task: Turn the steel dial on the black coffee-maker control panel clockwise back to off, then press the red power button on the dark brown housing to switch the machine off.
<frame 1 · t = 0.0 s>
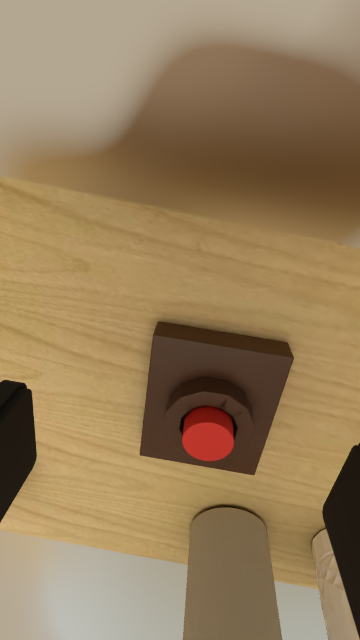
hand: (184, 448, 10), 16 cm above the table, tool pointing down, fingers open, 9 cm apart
travel mug: (228, 527, 36), on the table
power button: (208, 433, 24), point 4 cm above the table, slide at 0.1 cm
button housing: (209, 394, 28), on the table
white cup: (344, 541, 35), on the table
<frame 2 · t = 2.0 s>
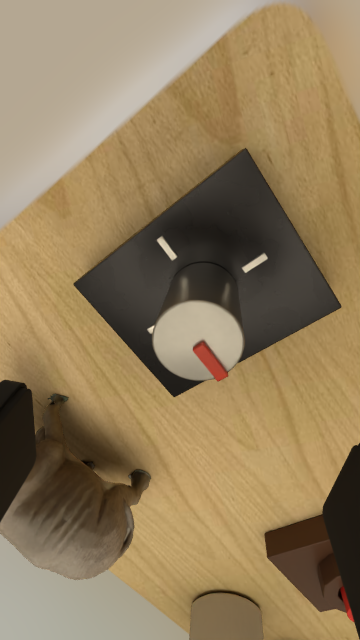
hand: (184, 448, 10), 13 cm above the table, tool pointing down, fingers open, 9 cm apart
travel mug: (225, 606, 39), on the table
dial panel: (205, 281, 22), on the table
rhinoceros figurine: (72, 428, 29), on the table
button housing: (348, 544, 31), on the table
dial: (200, 317, 17), point 5 cm above the table, hinge at 90.0°
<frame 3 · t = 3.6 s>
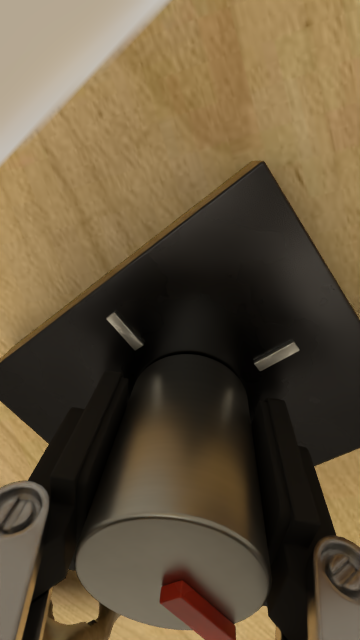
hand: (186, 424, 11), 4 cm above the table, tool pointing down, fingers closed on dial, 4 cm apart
dial panel: (193, 362, 14), on the table
rhinoceros figurine: (16, 539, 21), on the table
dial: (181, 472, 9), point 5 cm above the table, hinge at 89.9°, touching gripper
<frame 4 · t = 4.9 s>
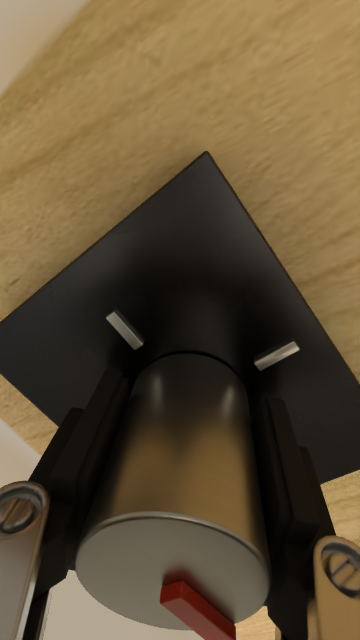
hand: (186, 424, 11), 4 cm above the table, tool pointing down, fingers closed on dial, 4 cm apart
dial panel: (193, 361, 14), on the table
dial: (181, 471, 9), point 5 cm above the table, hinge at -0.4°, touching gripper
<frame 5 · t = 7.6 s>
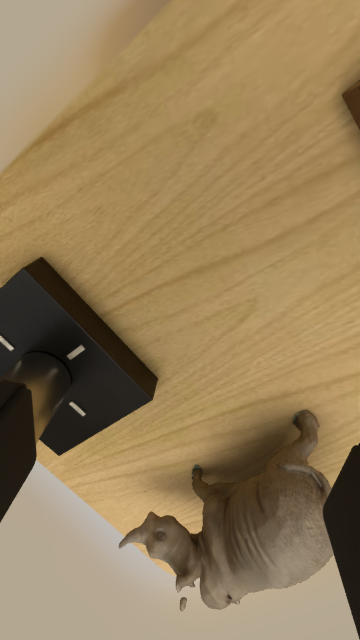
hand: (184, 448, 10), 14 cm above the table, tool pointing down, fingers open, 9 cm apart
dial panel: (58, 356, 25), on the table
rhinoceros figurine: (235, 466, 29), on the table
dial: (21, 403, 21), point 5 cm above the table, hinge at 0.8°
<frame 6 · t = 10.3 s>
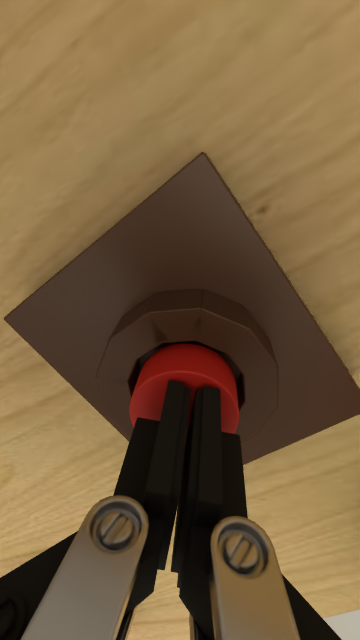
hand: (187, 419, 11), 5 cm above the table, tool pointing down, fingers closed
power button: (185, 399, 12), point 4 cm above the table, slide at 0.1 cm, touching gripper
button housing: (192, 338, 16), on the table
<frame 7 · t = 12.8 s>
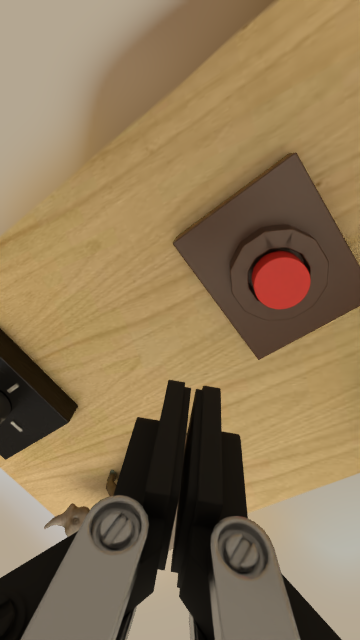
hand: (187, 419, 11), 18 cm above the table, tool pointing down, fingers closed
power button: (279, 280, 23), point 4 cm above the table, slide at 0.1 cm
dial panel: (6, 387, 35), on the table
rhinoceros figurine: (141, 472, 39), on the table
button housing: (270, 262, 27), on the table
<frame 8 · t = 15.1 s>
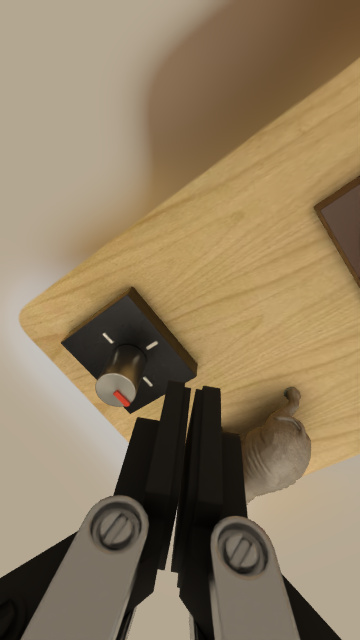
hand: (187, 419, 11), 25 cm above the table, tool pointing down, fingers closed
dial panel: (133, 348, 39), on the table
rhinoceros figurine: (245, 426, 43), on the table
dial: (122, 375, 35), point 5 cm above the table, hinge at 0.8°
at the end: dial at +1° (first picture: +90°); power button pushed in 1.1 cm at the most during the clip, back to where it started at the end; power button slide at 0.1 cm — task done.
